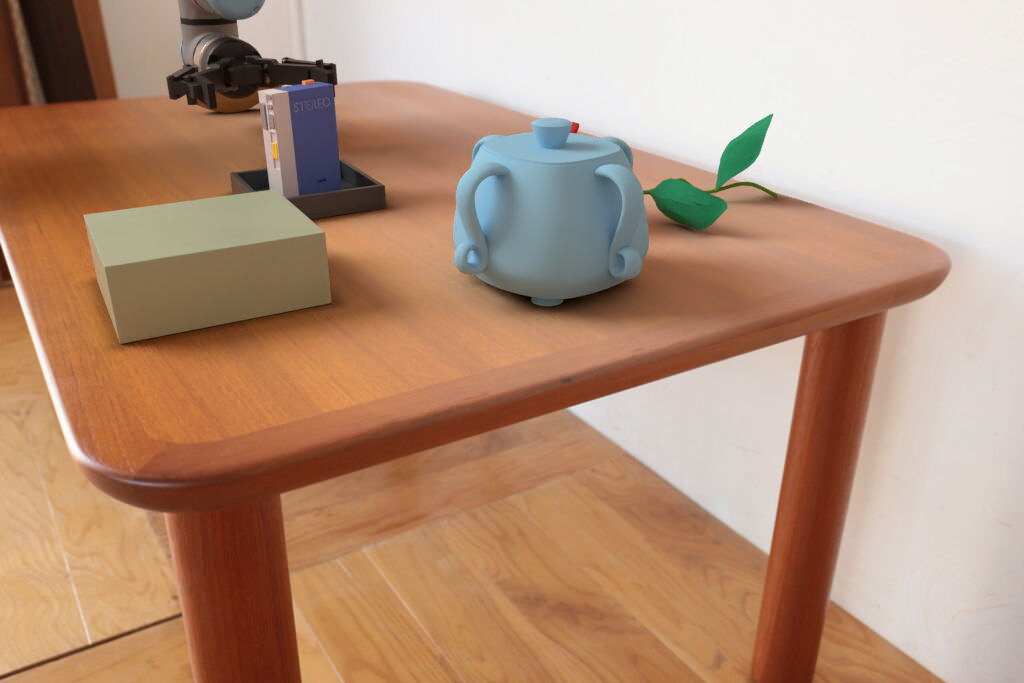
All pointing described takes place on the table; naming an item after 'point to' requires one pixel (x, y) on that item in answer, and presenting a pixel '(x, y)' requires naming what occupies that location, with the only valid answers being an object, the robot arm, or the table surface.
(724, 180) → the decorative flower
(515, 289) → the decorative pot
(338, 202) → the tray
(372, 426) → the table surface
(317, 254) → the block
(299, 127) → the walkman
